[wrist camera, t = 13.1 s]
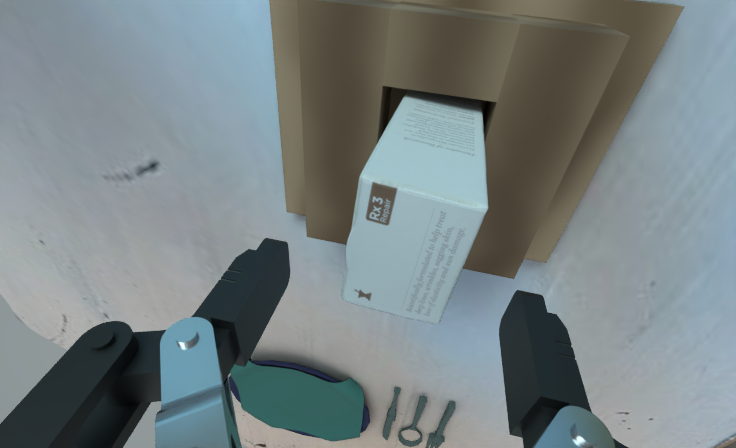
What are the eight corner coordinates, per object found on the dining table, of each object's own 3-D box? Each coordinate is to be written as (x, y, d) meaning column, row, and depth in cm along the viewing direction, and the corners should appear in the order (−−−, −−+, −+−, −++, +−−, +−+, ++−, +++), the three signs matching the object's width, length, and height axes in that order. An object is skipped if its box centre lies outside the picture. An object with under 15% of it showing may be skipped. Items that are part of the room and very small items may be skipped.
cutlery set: (222, 334, 44) (212, 351, 42) (464, 388, 40) (464, 408, 39) (246, 407, 56) (239, 422, 54) (433, 453, 53) (432, 470, 51)
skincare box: (452, 183, 23) (445, 335, 14) (387, 168, 24) (337, 306, 14) (484, 90, 20) (504, 213, 10) (406, 74, 20) (354, 177, 10)
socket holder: (291, 205, 29) (267, 239, 25) (274, -38, 19) (231, -37, 15) (543, 253, 26) (556, 299, 23) (673, 4, 17) (730, 16, 13)
